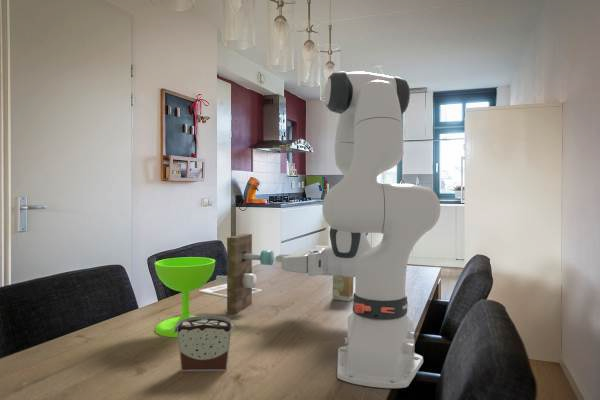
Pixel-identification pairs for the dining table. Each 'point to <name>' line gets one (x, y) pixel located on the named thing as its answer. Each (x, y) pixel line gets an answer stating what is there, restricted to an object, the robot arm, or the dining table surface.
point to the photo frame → (220, 288)
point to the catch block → (238, 272)
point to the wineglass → (182, 284)
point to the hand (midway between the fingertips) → (277, 257)
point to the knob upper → (261, 257)
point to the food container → (204, 342)
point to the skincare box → (342, 288)
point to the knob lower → (247, 280)
